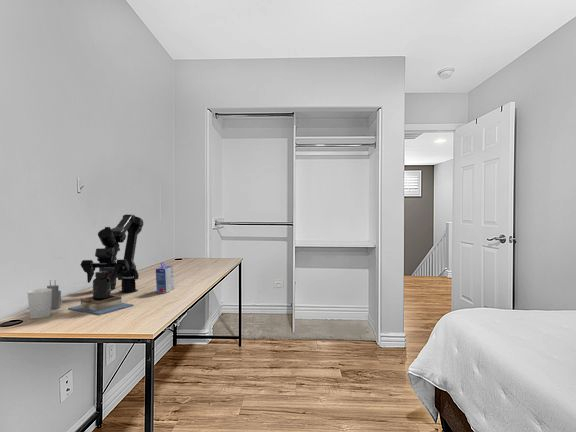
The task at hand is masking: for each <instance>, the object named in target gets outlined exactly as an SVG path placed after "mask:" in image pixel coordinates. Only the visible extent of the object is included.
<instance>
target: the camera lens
mask: <svg viewBox="0 0 576 432" xmlns="http://www.w3.org/2000/svg"><path fill="white" fill-rule="evenodd" d="M116 261H117V260H115V261H114V263H117V262H116ZM100 271H108V278H110V280H111V277H112V274H113V272H114V268H98V272H100ZM116 285H117V278H116V279H115V280H114V281H113V282H112V283H111V291H113V290H115V289H116Z"/></svg>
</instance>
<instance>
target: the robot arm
mask: <svg viewBox="0 0 576 432" xmlns="http://www.w3.org/2000/svg"><path fill="white" fill-rule="evenodd" d="M143 226H144V219H142V218H141V217H140V216H139V217H138V216H136V215H135V214H124V215H123V216H122V218H121V219H120V221H119V222H118V224H116V226H115V227H112V228H111V227H110V226H104V228H102V229H101V230H99V231H98V233H97V236H98V238H99V240H100V242H101V244H102V246H104V248H103V247H101V248H96V249H95V254H94V256H95V258H96V260H97V262H94V261H93V260H92V259H84V260H82V261H81V262H80V267H81V269H82V270H83V272H84V273H86V275H87V277H86V278H87V283H88V284H90V283H91V281H92V279H93V277H94V276H95V271H96V269H99V268H114V272H113V274H112V277H111V281H110V282H111V283H112V282H113V281H114V280H115V279H116V280H118V281H121V289H120V290H118V292H119V293H124V294H125V293H126V294H130V293H132V292H133V293H134V292H137V291H138V289H137V288H136V285H137V283H136V280H139V277H140V275H139V272H138V270H137V265H136V263H135V261H134V260H135V254H136V248H137V240H138V235H139V234H140V233H141V232H142V230H143ZM126 232H127V235H126ZM125 240H126V243H125V249H124V253H123V254H124V256H123V259H118V257H117V255H118V252H120V251H121V249H120V244H121V243H124V242H125ZM114 261H116V263H114Z"/></svg>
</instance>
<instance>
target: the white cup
mask: <svg viewBox="0 0 576 432" xmlns="http://www.w3.org/2000/svg"><path fill="white" fill-rule="evenodd" d="M27 300H28V302H27V303H28V310H29V318H30V319H42V318H47V317H50V316H51V315H52V310H51V303H52V289H49V288H47V287H46V288H36V289H31V290H28V291H27Z"/></svg>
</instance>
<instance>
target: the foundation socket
mask: <svg viewBox="0 0 576 432" xmlns="http://www.w3.org/2000/svg"><path fill="white" fill-rule="evenodd" d="M122 296H123V295H115V294H111V298H109V299H105V300H101V301H96V300H93V295H92V296H89V297H84V298H80V305H81V308H84V309H90V310H96V311H100V310H104V309H108V308H111V307H115V306H119V305H122V303H123V302H122V300H123V299H122Z"/></svg>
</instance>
